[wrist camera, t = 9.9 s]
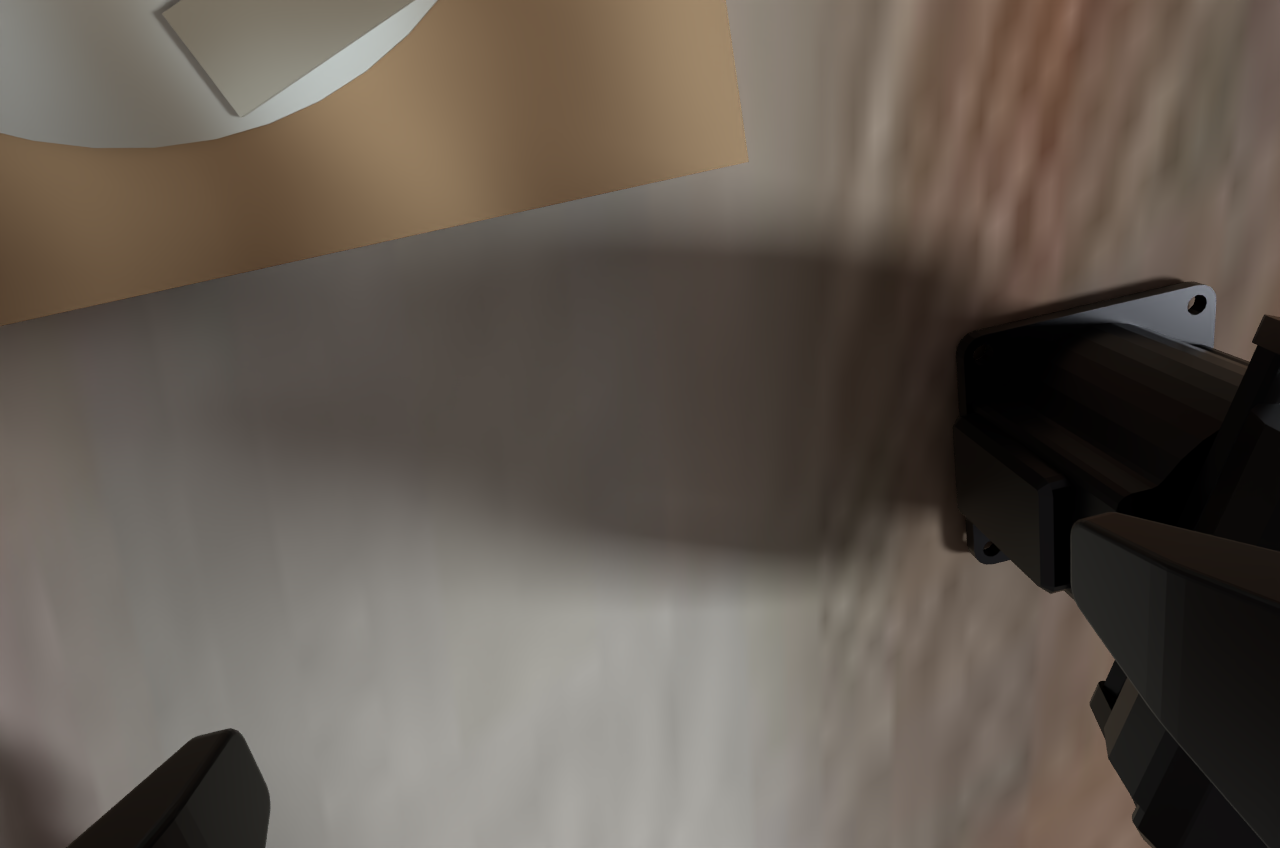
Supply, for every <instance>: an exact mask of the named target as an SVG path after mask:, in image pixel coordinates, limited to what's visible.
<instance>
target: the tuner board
mask: <svg viewBox="0 0 1280 848" xmlns="http://www.w3.org/2000/svg"><path fill="white" fill-rule="evenodd" d="M745 162H749V161H748V154H747V147H746V140H745V133H744V126H743V118H742V111H741V104H740V97H739V90H738V83H737V76H736V69H735V62H734V55H733V48H732V41H731V34H730V27H729V20H728V13H727V6H726V0H0V326H3V325H8V324H12V323H17V322H21V321H26V320H30V319H35V318H39V317H44V316H49V315H53V314H58V313H62V312H67V311H71V310H76V309H80V308H85V307H90V306H94V305H99V304H103V303H108V302H112V301H117V300H121V299H126V298H130V297H135V296H140V295H144V294H149V293H153V292H158V291H162V290H167V289H171V288H176V287H181V286H185V285H190V284H194V283H199V282H203V281H208V280H212V279H217V278H222V277H226V276H231V275H235V274H240V273H244V272H249V271H253V270H258V269H262V268H267V267H272V266H276V265H281V264H285V263H290V262H294V261H299V260H303V259H308V258H313V257H317V256H322V255H326V254H331V253H335V252H340V251H344V250H349V249H354V248H358V247H363V246H367V245H372V244H376V243H381V242H385V241H390V240H395V239H399V238H404V237H408V236H413V235H417V234H422V233H426V232H431V231H435V230H440V229H445V228H449V227H454V226H458V225H463V224H467V223H472V222H476V221H481V220H486V219H490V218H495V217H499V216H504V215H508V214H513V213H517V212H522V211H527V210H531V209H536V208H540V207H545V206H549V205H554V204H558V203H563V202H567V201H572V200H577V199H581V198H586V197H590V196H595V195H599V194H604V193H608V192H613V191H618V190H622V189H627V188H631V187H636V186H640V185H645V184H649V183H654V182H659V181H663V180H668V179H672V178H677V177H681V176H686V175H690V174H695V173H699V172H704V171H709V170H713V169H718V168H722V167H727V166H731V165H736V164H740V163H745Z"/></svg>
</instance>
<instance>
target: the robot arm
mask: <svg viewBox="0 0 1280 848" xmlns="http://www.w3.org/2000/svg"><path fill="white" fill-rule="evenodd" d="M1194 296H1195V302H1194V305H1193V306H1192V307H1191V308H1190V309H1187V306H1188V303H1189V301H1190V300H1191V299H1192V297H1194ZM1215 313H1216V295H1215V292H1214V291H1213V289H1212V288H1211V287H1209V286H1207V285H1204V284H1200V283H1197V282H1184V283H1179V284H1175V285H1171V286H1166V287H1162V288H1158V289H1153V290H1149V291H1145V292H1141V293H1136V294H1132V295H1128V296H1123V297H1119V298H1115V299H1110V300H1106V301H1102V302H1098V303H1093V304H1089V305H1085V306H1080V307H1076V308H1072V309H1067V310H1063V311H1059V312H1054V313H1050V314H1046V315H1042V316H1037V317H1033V318H1029V319H1024V320H1020V321H1016V322H1011V323H1007V324H1003V325H999V326H994V327H990V328H986V329H981V330H977V331H973V332H971V333H969V334H967V335H966V336H965V337H964V338H963V339H961V341H960V343H959V345H958V346H957V351H956V363H957V380H958V397H959V414H960V416H959V417H958V418H957V420H956V422H955V424H954V426H953V439H954V455H955V471H956V487H957V503H958V509H959V511H960V512H961V513H962V514H963V515H964V516H965V517H966V532H967V546H968V549H969V551H970V552H971V554H972V555H973V556H974V557H975V558H976V559H977V560H978V561H979V562H980V563H983V564H995V563H999V562H1003V561H1007V560H1011V561H1012V562H1013V563H1014V564H1015V565H1017V566H1018V567H1019V568H1020V569H1021V570H1022V571H1023V572H1024V573H1025V574H1026V575H1027V576H1028V577H1029V578H1030V579H1031V580H1032V581H1033V582H1034V583H1035V584H1036V585H1037V586H1039V587H1040V588H1042V589H1044V590H1045V591H1047V592H1049V593H1050V594H1052V593H1056V592H1060V591H1065V592H1066V593H1067V594H1068V595H1069V596H1070V597H1072V598H1073V599H1074V600H1075V601H1076V604H1077V606H1078V607H1079V609H1080V610H1081V612H1082V613H1083V615H1084V616H1085V617H1086V619H1087V620H1088V622H1089V623H1090V625H1091V626H1092V627H1093V629H1094V630H1095V632H1096V633H1097V635H1098V636H1099V637H1100V639H1101V640H1102V642H1103V643H1104V645H1105V646H1106V647H1107V649H1108V650H1109V652H1110V653H1111V654H1112V656H1113V657H1114V659H1115V661H1114V663H1113V666H1112V668H1111V670H1110V672H1109V674H1108V677H1107V679H1106V681H1100V682H1099V683H1098V685H1097V687H1096V689H1095V692H1094V694H1093V696H1092V698H1091V701H1090V707H1091V709H1092V711H1093V713H1094V716H1095V718H1096V720H1097V722H1098V724H1099V727H1100V729H1101V731H1102V733H1103V735H1104V738H1105V740H1106V747H1107V753H1108V759H1109V760H1110V762H1111V764H1112V765H1113V767H1114V769H1115V770H1116V772H1117V774H1118V775H1119V777H1120V778H1121V780H1122V782H1123V783H1124V785H1125V787H1126V788H1127V790H1128V792H1129V793H1130V795H1131V797H1132V799H1133V801H1134V803H1135V805H1136V808H1135V810H1134V812H1133V814H1132V821H1133V823H1134V824H1135V826H1136V828H1137V830H1138V831H1139V833H1140V835H1141V836H1142V838H1143V839H1144V840H1145V841H1146V842H1147V843H1148V844H1149V845H1150V846H1151V847H1152V848H1280V317H1276V316H1271V315H1264V316H1263V318H1262V321H1261V323H1260V325H1259V327H1258V329H1257V332H1256V334H1255V336H1254V338H1253V341H1252V342H1253V343H1254V344H1257V348H1256V350H1255V352H1254V354H1253V356H1252V359H1251V361H1250V362H1249V361H1246V360H1243V359H1241V358H1238V357H1235V356H1232V355H1230V354H1227V353H1224V352H1222V351H1219V350H1216V349H1214V348H1213V347H1214V330H1215ZM982 345H985V352H984V354H983V355H982V357H981V358H979V359H977V360H974V358H973V356H974V352H975V350H976V349H977V348H978V347H980V346H982ZM989 541H991V542H992V543H993V544H992V545H991V546H990V547H989V548H987V549H984V546H985V544H986V543H987V542H989ZM269 816H270V796H269V791H268V788H267V785H266V783H265V781H264V778H263V776H262V774H261V772H260V770H259V768H258V766H257V764H256V762H255V760H254V757H253V755H252V753H251V751H250V749H249V747H248V745H247V743H246V741H245V739H244V737H243V736H242V734H241V733H240V732H239V731H237V730H235V729H232V728H229V729H225V730H220V731H216V732H212V733H208V734H204V735H200V736H197V737H195V738H192V739H191V740H190V741H188V742H187V743H186V744H185V745H184V746H183V747H181V748H180V749H179V750H178V751H177V752H176V753H175V754H173V755H172V756H171V757H170V758H169V759H168V760H167V761H165V762H164V763H163V764H162V765H161V766H160V767H158V768H157V769H156V770H155V771H154V772H153V773H152V774H150V775H149V776H148V777H147V778H146V779H145V780H144V781H142V782H141V783H140V784H139V785H138V786H137V787H135V788H134V789H133V790H132V791H131V792H130V793H129V794H127V795H126V796H125V797H124V798H123V799H122V800H120V801H119V802H118V803H117V804H116V805H115V806H114V807H112V808H111V809H110V810H109V811H108V812H107V813H106V814H104V815H103V816H102V817H101V818H100V819H99V820H97V821H96V822H95V823H94V824H93V825H92V826H91V827H89V828H88V829H87V830H86V831H85V832H84V833H83V834H81V835H80V836H79V837H78V838H77V839H76V840H74V841H73V842H72V843H71V844H70V845H69V846H68V847H66V848H265V846H266V839H267V831H268V824H269Z"/></svg>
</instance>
